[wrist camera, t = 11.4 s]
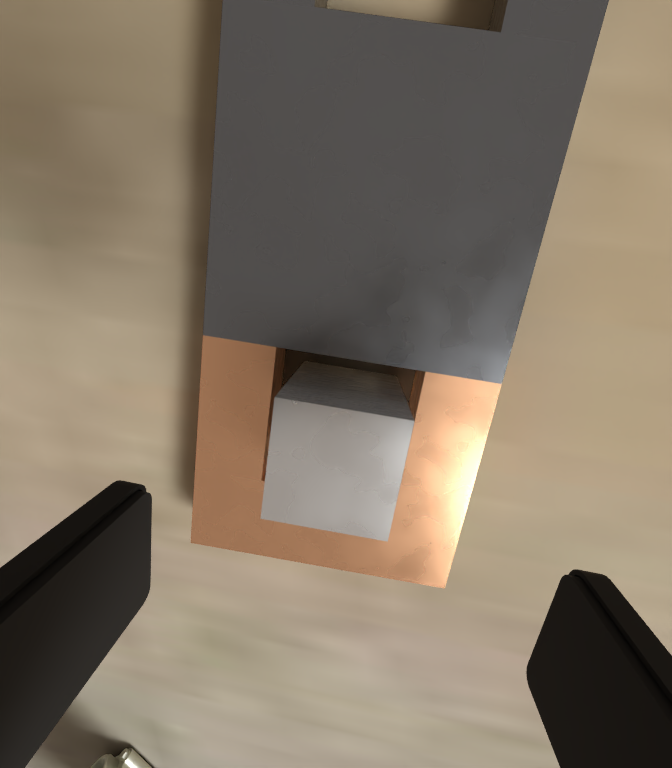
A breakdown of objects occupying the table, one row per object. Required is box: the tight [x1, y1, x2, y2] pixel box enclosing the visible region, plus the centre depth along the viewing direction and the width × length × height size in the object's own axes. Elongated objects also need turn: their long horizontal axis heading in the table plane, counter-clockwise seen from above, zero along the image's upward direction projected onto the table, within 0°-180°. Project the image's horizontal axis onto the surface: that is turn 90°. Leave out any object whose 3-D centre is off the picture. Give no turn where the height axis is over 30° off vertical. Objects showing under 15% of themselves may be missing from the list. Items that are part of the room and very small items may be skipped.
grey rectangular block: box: [261, 361, 414, 542], centre depth 17 cm, size 5×5×7 cm
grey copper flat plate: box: [191, 0, 609, 588], centre depth 16 cm, size 14×36×2 cm, turn 171°
